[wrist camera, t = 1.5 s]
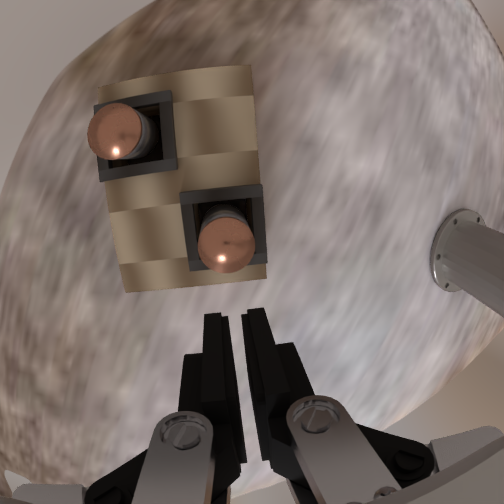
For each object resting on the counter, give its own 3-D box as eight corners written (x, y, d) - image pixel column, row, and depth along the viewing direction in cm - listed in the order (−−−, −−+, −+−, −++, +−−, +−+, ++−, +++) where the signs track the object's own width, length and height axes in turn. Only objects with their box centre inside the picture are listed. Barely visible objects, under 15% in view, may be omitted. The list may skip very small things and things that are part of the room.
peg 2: (244, 201, 27) (252, 215, 20) (247, 244, 28) (257, 270, 22) (199, 206, 26) (194, 221, 20) (204, 248, 28) (201, 276, 21)
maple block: (245, 78, 27) (252, 60, 21) (259, 261, 34) (268, 283, 28) (114, 96, 26) (93, 84, 20) (137, 274, 32) (122, 298, 27)
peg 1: (157, 111, 23) (138, 97, 17) (160, 154, 24) (142, 154, 18) (115, 119, 23) (86, 110, 17) (118, 161, 24) (89, 164, 18)
